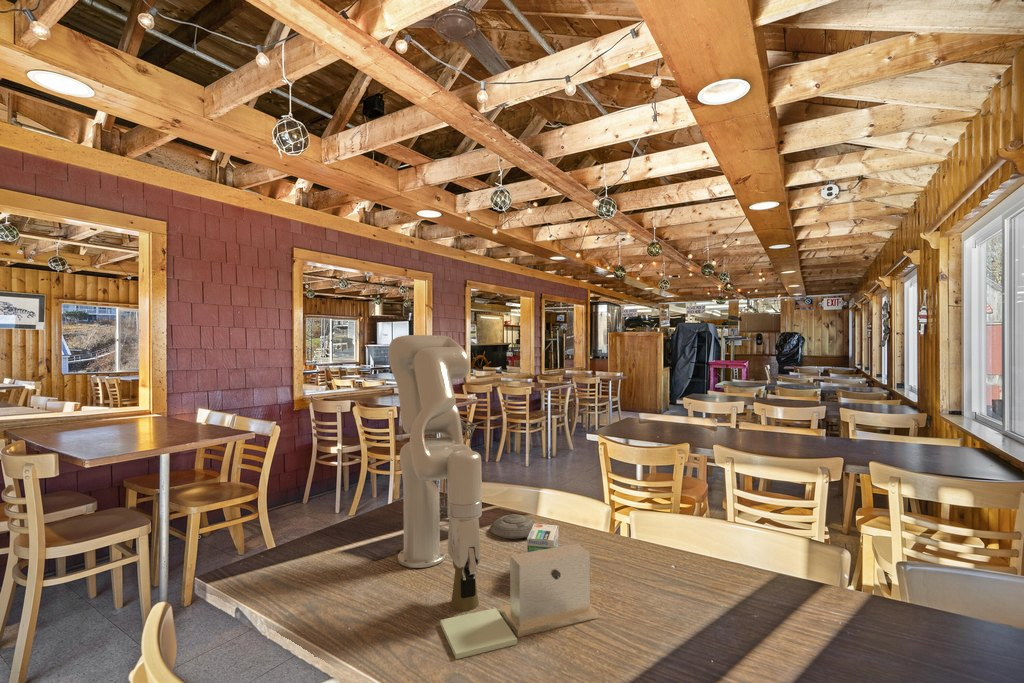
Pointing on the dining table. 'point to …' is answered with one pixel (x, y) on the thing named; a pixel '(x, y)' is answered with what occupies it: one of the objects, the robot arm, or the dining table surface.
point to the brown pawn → (457, 601)
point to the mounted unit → (549, 589)
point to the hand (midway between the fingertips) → (465, 591)
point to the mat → (477, 633)
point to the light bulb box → (543, 537)
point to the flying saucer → (512, 526)
